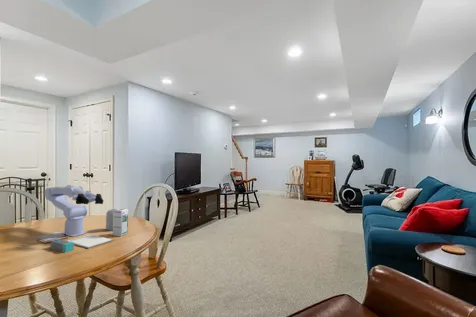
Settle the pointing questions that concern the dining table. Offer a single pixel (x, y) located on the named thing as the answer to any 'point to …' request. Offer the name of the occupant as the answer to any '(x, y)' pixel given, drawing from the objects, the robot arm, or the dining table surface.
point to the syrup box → (120, 222)
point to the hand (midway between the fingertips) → (95, 202)
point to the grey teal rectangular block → (62, 245)
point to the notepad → (90, 241)
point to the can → (109, 220)
